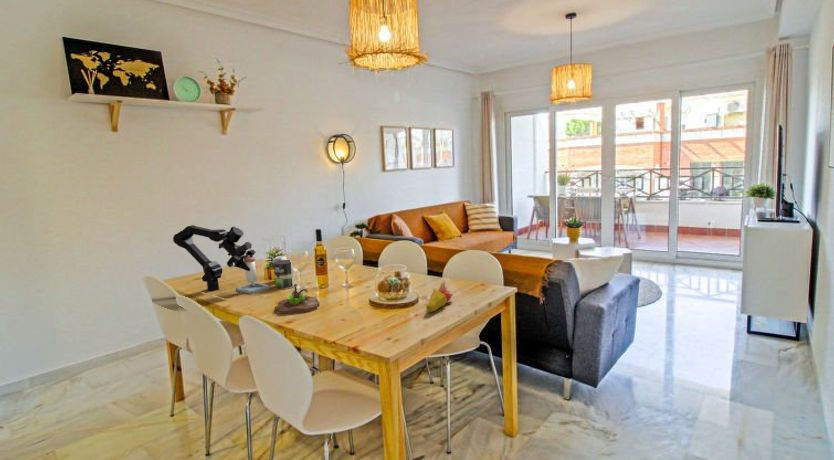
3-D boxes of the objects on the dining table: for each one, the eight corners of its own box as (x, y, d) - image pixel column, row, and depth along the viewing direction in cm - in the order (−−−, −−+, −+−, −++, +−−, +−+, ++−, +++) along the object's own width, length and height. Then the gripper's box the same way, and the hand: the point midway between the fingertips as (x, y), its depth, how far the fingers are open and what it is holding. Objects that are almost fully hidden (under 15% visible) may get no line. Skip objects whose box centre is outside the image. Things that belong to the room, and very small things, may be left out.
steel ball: (250, 286, 253) (249, 281, 253) (255, 285, 255) (254, 280, 255) (253, 287, 251) (252, 282, 251) (258, 286, 254) (257, 280, 253)
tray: (236, 291, 248) (235, 287, 247) (255, 286, 257) (255, 282, 257) (251, 295, 239) (250, 291, 239) (271, 289, 248) (270, 285, 248)
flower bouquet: (427, 323, 197) (443, 298, 219) (442, 316, 194) (457, 292, 216) (417, 307, 196) (434, 284, 219) (432, 300, 193) (448, 277, 215)
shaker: (244, 282, 243) (241, 259, 241) (250, 279, 248) (247, 257, 246) (253, 282, 242) (251, 259, 240) (259, 280, 247) (256, 257, 245)
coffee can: (287, 290, 245) (284, 264, 243) (271, 289, 249) (268, 263, 247) (298, 285, 255) (296, 260, 253) (283, 284, 259) (281, 259, 256)
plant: (319, 299, 228) (317, 277, 226) (319, 311, 209) (317, 287, 207) (277, 304, 224) (275, 281, 222) (273, 317, 205) (271, 292, 203)
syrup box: (284, 283, 260) (282, 258, 258) (274, 283, 261) (272, 258, 259) (289, 280, 265) (286, 255, 263) (279, 280, 267) (277, 256, 264)
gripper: (229, 241, 233) (251, 263, 232) (250, 234, 251) (270, 254, 250) (217, 256, 236) (239, 277, 235) (239, 248, 254) (259, 268, 253)
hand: (252, 269), depth 243 cm, fingers closed on shaker, 5 cm apart
